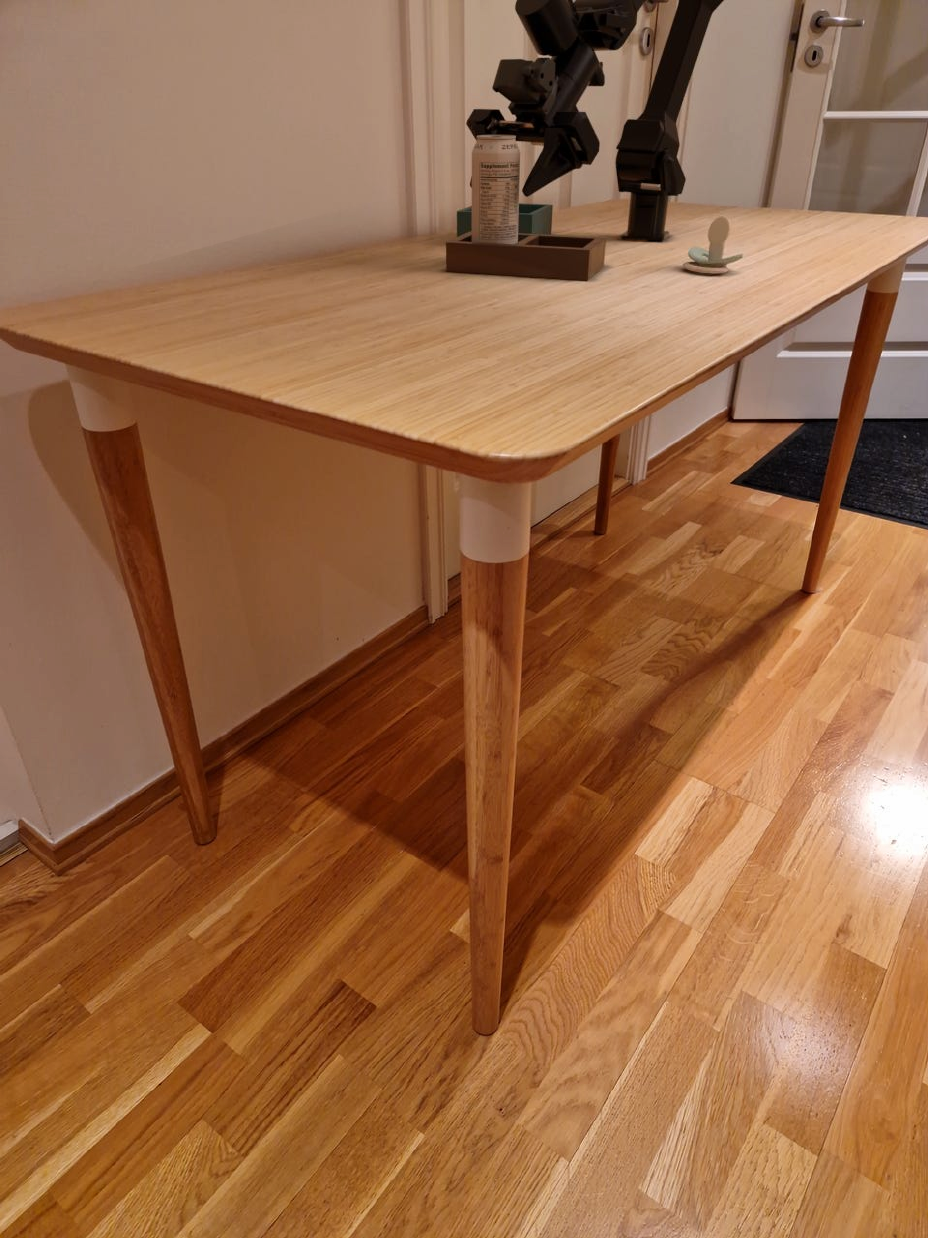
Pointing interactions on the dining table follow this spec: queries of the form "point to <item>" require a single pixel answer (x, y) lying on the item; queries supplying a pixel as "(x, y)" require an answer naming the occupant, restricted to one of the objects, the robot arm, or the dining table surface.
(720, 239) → the pacifier
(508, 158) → the energy drink can
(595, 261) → the brown divided tray
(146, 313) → the dining table surface
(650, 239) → the robot arm
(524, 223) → the green square tray
